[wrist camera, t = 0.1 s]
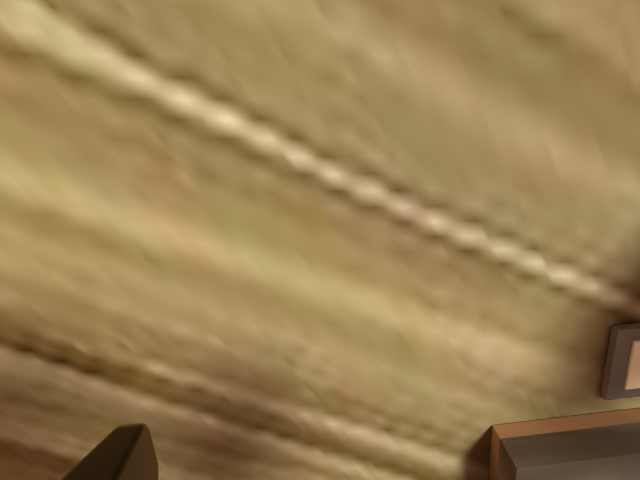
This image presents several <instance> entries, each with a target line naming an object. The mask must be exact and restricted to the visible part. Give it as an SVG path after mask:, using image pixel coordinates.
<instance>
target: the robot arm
mask: <svg viewBox="0 0 640 480" xmlns="http://www.w3.org/2000/svg"><path fill="white" fill-rule="evenodd" d="M61 480H158V463H157V458H156V454H155V450H154V447H153V443H152V439H151V435H150V431H149V428H148V427H147V425H145V424H143V423H139V424H130V425H122V426H119V427H117V428H116V429H114V430H113V431H112V432H111V433H110V434H109V435H108V436H107V437H106V438H105V439H104V440H103V441H101V442H100V443H99V444H98V445H97V446H96V447H95V448H94V449H93V450H92V451H91V452H90V453H89V454H88V455H87V456H86V457H84V458H83V459H82V460H81V461H80V462H79V463H78V464H77V465H76V466H75V467H74V468H73V469H72V470H71V471H70V472H69V473H67V474H66V475H65V476H64V477H63V478H62V479H61Z"/></svg>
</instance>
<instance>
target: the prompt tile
mask: <svg viewBox="0 0 640 480" xmlns="http://www.w3.org/2000/svg"><path fill="white" fill-rule="evenodd" d="M600 394H601V396H602V397H603V398H604V399H605V400H613V399H621V398H630V397H638V396H640V322H638V323H629V324H620V325H612V330H611V335H610V341H609V347H608V353H607V358H606V364H605V370H604V376H603V381H602V387H601V393H600Z"/></svg>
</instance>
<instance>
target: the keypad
mask: <svg viewBox="0 0 640 480" xmlns="http://www.w3.org/2000/svg"><path fill="white" fill-rule="evenodd" d="M488 480H640V408H635V409H627V410H618V411H610V412H601V413H593V414H584V415H576V416H567V417H559V418H550V419H542V420H534V421H525V422H517V423H508V424H500V425H492V437H491V450H490V463H489V477H488Z"/></svg>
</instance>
